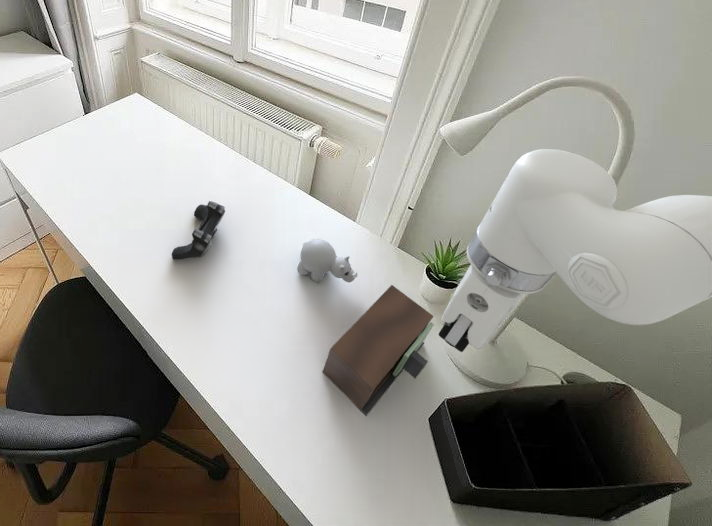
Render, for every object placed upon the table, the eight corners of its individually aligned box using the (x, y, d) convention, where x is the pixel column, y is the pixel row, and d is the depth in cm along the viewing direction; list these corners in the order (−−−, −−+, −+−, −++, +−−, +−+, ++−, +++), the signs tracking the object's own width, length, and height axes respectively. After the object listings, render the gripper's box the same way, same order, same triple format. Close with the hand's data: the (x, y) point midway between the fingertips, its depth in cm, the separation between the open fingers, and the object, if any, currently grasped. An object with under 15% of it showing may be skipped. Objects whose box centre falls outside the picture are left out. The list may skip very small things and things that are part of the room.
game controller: (193, 275, 91) (211, 257, 84) (167, 258, 90) (183, 239, 83) (218, 222, 102) (236, 202, 95) (195, 207, 102) (212, 186, 95)
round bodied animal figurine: (345, 303, 82) (353, 279, 76) (291, 273, 87) (296, 249, 82) (358, 277, 86) (367, 253, 81) (306, 250, 92) (311, 226, 86)
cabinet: (423, 344, 75) (439, 320, 69) (366, 416, 66) (379, 394, 61) (380, 310, 81) (391, 284, 75) (322, 371, 72) (330, 348, 66)
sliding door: (433, 355, 73) (448, 335, 68) (408, 388, 69) (422, 369, 64) (417, 342, 74) (430, 322, 70) (392, 374, 70) (404, 354, 66)
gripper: (523, 325, 37) (454, 403, 49) (575, 238, 45) (505, 324, 56) (442, 272, 42) (396, 355, 53) (501, 202, 49) (450, 288, 61)
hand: (452, 339), depth 55 cm, fingers closed
